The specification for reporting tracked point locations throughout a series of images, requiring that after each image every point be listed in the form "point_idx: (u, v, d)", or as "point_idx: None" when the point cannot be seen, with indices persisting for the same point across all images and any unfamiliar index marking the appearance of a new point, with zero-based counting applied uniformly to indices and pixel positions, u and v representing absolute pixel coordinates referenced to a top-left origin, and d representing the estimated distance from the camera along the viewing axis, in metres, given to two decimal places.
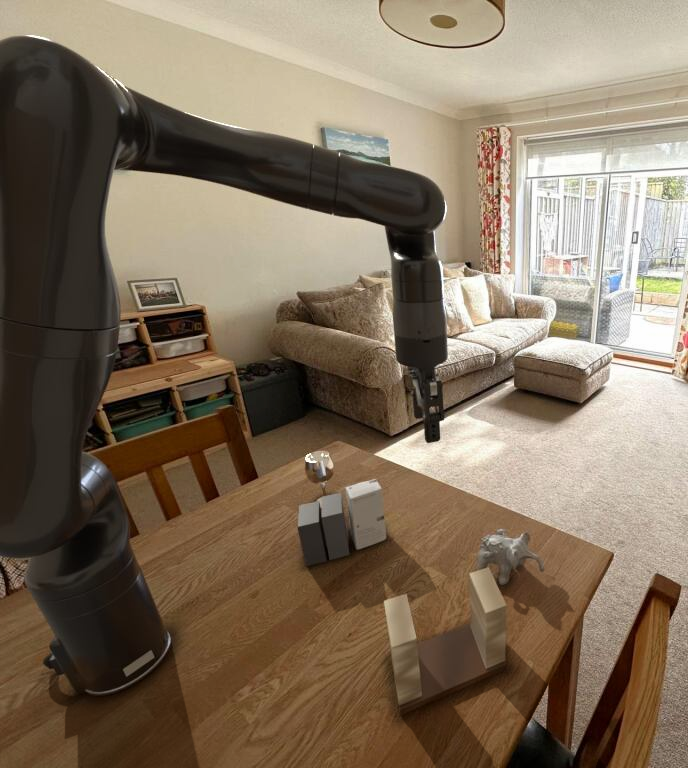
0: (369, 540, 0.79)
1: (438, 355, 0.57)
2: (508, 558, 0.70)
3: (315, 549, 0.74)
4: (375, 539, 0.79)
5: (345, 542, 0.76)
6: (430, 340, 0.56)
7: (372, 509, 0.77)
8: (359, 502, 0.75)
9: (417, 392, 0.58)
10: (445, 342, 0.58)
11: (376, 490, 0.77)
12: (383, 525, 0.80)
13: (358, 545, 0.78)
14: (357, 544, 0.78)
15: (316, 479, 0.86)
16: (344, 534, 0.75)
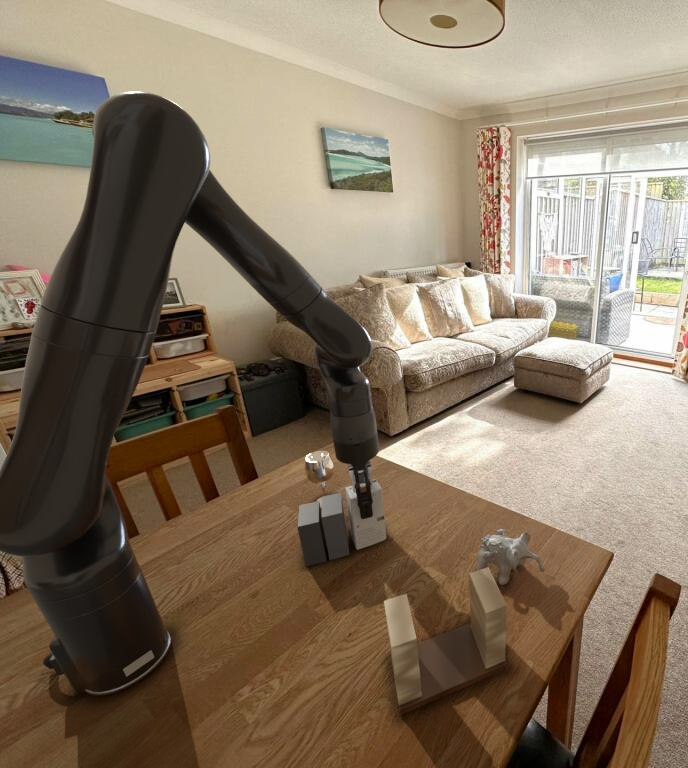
0: (369, 540, 0.79)
1: (368, 453, 0.71)
2: (508, 558, 0.70)
3: (315, 549, 0.74)
4: (375, 539, 0.79)
5: (345, 542, 0.76)
6: (360, 444, 0.70)
7: (372, 509, 0.77)
8: None
9: (352, 482, 0.73)
10: (375, 441, 0.72)
11: (376, 490, 0.76)
12: (383, 525, 0.80)
13: (358, 546, 0.78)
14: (357, 544, 0.78)
15: (316, 479, 0.86)
16: (344, 534, 0.75)
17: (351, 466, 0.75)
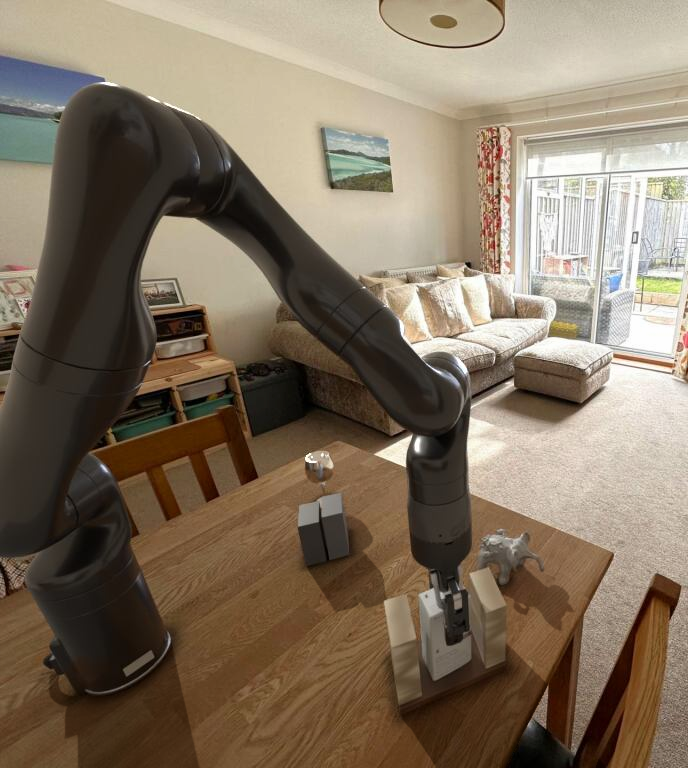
0: (451, 666, 0.56)
1: (462, 552, 0.48)
2: (508, 558, 0.70)
3: (315, 549, 0.74)
4: (457, 663, 0.56)
5: (345, 542, 0.76)
6: (453, 541, 0.46)
7: None
8: (442, 620, 0.52)
9: (436, 592, 0.49)
10: (470, 533, 0.49)
11: None
12: (469, 643, 0.56)
13: (436, 676, 0.55)
14: (435, 674, 0.55)
15: (316, 479, 0.86)
16: (344, 534, 0.75)
17: None
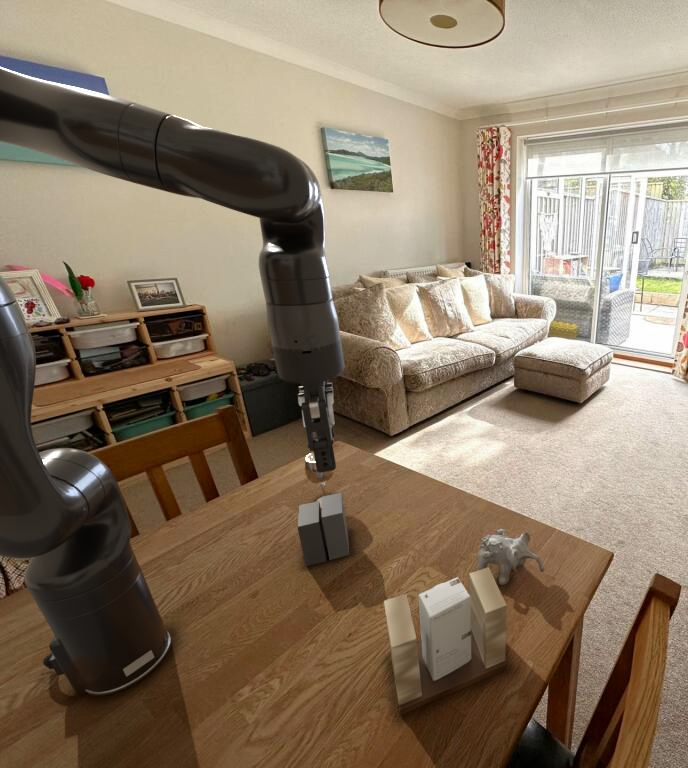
0: (451, 666, 0.56)
1: (325, 368, 0.48)
2: (508, 558, 0.70)
3: (315, 549, 0.74)
4: (457, 663, 0.56)
5: (345, 542, 0.76)
6: (312, 351, 0.46)
7: (457, 625, 0.54)
8: (441, 620, 0.52)
9: (303, 413, 0.49)
10: (336, 353, 0.49)
11: (464, 599, 0.53)
12: (469, 643, 0.56)
13: (436, 676, 0.55)
14: (435, 674, 0.55)
15: (316, 479, 0.86)
16: (344, 534, 0.75)
17: (304, 393, 0.51)
